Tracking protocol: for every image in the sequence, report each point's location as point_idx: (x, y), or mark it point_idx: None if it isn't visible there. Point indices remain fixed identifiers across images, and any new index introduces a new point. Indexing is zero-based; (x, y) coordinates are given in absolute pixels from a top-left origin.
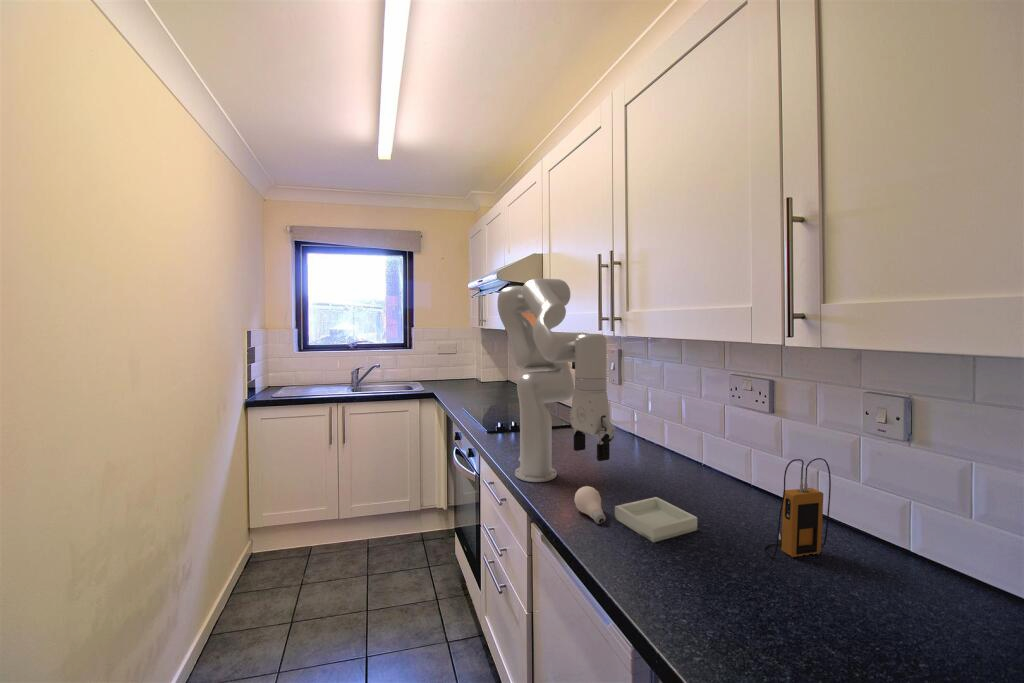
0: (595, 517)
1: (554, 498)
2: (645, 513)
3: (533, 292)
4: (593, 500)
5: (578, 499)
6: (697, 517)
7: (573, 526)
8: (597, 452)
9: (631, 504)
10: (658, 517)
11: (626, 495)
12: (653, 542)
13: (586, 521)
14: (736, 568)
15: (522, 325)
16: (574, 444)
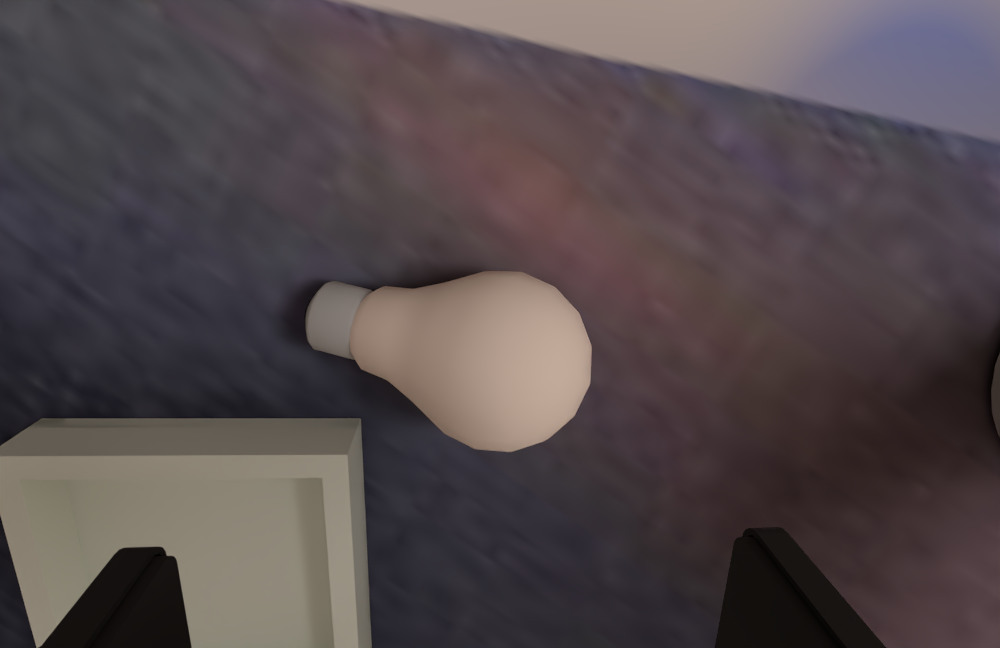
0: (328, 288)
1: (762, 267)
2: (308, 572)
3: None
4: (404, 354)
5: (491, 284)
6: None
7: (370, 143)
8: (64, 645)
9: (327, 547)
10: (241, 596)
11: (571, 629)
12: (42, 419)
13: (395, 255)
14: None
15: None
16: (811, 592)
